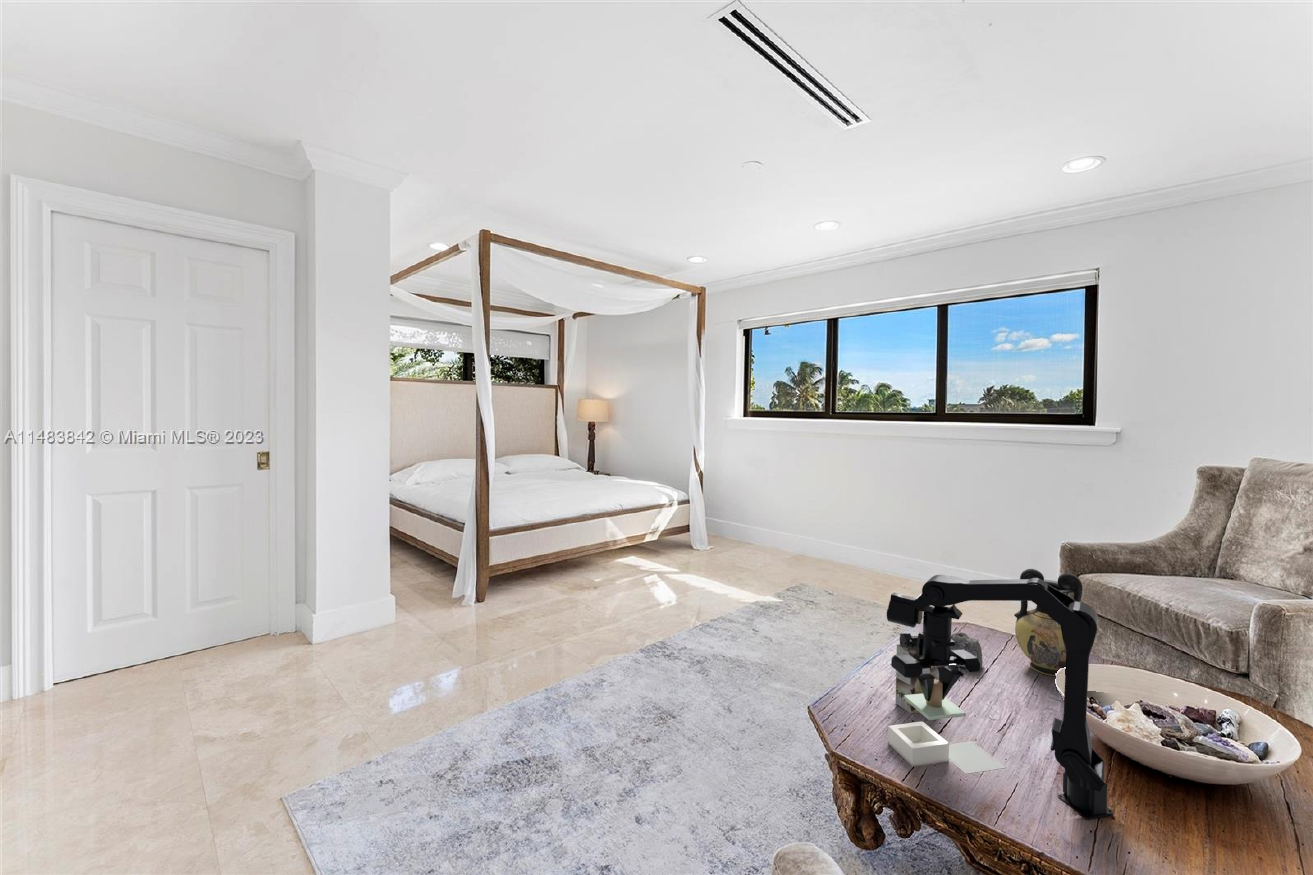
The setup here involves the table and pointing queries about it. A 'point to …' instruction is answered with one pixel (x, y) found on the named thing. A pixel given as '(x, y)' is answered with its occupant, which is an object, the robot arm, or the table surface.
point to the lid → (935, 704)
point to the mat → (972, 758)
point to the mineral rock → (967, 645)
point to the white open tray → (918, 743)
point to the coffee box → (909, 682)
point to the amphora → (1044, 627)
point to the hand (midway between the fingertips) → (934, 699)
